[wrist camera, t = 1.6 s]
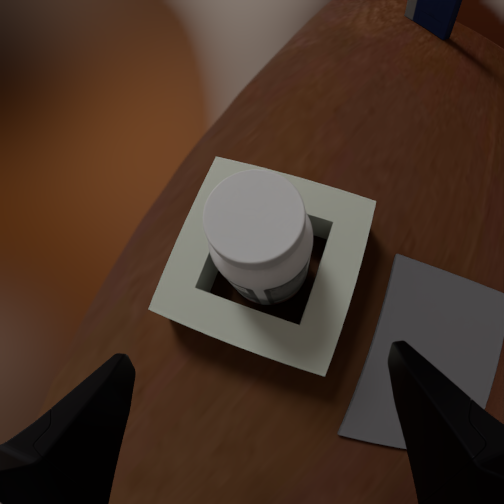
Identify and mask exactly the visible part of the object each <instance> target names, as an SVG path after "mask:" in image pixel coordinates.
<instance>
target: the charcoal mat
mask: <svg viewBox="0 0 504 504" xmlns="http://www.w3.org/2000/svg"><path fill="white" fill-rule="evenodd" d="M503 338H504V293H501V292H499V291H496V290H494V289H491V288H489V287H486V286H484V285H481V284H479V283H476V282H473V281H471V280H468V279H465V278H463V277H460V276H457V275H455V274H452V273H449V272H447V271H444V270H441V269H439V268H436V267H433V266H430V265H428V264H425V263H422V262H419V261H416V260H414V259H411V258H408V257H405V256H402V255H399V254H396V255H395V257H394V262H393V266H392V271H391V275H390V279H389V283H388V287H387V291H386V295H385V298H384V302H383V306H382V309H381V313H380V316H379V320H378V323H377V327H376V330H375V333H374V336H373V340H372V343H371V346H370V349H369V352H368V355H367V358H366V361H365V364H364V367H363V370H362V373H361V375H360V378H359V381H358V384H357V386H356V389H355V392H354V394H353V397H352V399H351V402H350V404H349V407H348V409H347V412H346V414H345V417H344V419H343V422H342V424H341V426H340V429H339V431H338V435H341V436H345V437H349V438H354V439H358V440H362V441H367V442H371V443H376V444H381V445H386V446H392V447H397V448H403V449H406V445H405V441H404V437H403V433H402V429H401V425H400V422H399V418H398V414H397V411H396V407H395V403H394V398H393V392H392V386H391V380H390V374H389V369H388V356H389V352H390V348H391V344H392V343H393V342H394V341H401V340H404V341H406V342H407V343H408V344H409V345H410V346H412V347H413V348H414V349H415V350H416V351H418V352H419V353H420V354H421V355H422V356H423V357H425V358H426V359H427V360H428V361H429V362H430V363H432V364H433V365H434V366H435V367H436V368H437V369H438V370H440V371H441V372H442V373H443V374H444V375H445V376H446V377H448V378H449V379H450V380H451V381H452V382H453V383H454V384H456V385H457V386H458V387H459V388H460V389H461V390H462V391H464V392H465V393H466V394H467V395H468V396H469V397H470V398H471V400H472V399H473V400H474V401H475V402H476V403H477V404H478V405H479V406H481V407H482V408H483V409H485V406H486V403H487V400H488V397H489V393H490V390H491V387H492V383H493V380H494V376H495V372H496V369H497V365H498V361H499V356H500V352H501V347H502V343H503Z"/></svg>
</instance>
